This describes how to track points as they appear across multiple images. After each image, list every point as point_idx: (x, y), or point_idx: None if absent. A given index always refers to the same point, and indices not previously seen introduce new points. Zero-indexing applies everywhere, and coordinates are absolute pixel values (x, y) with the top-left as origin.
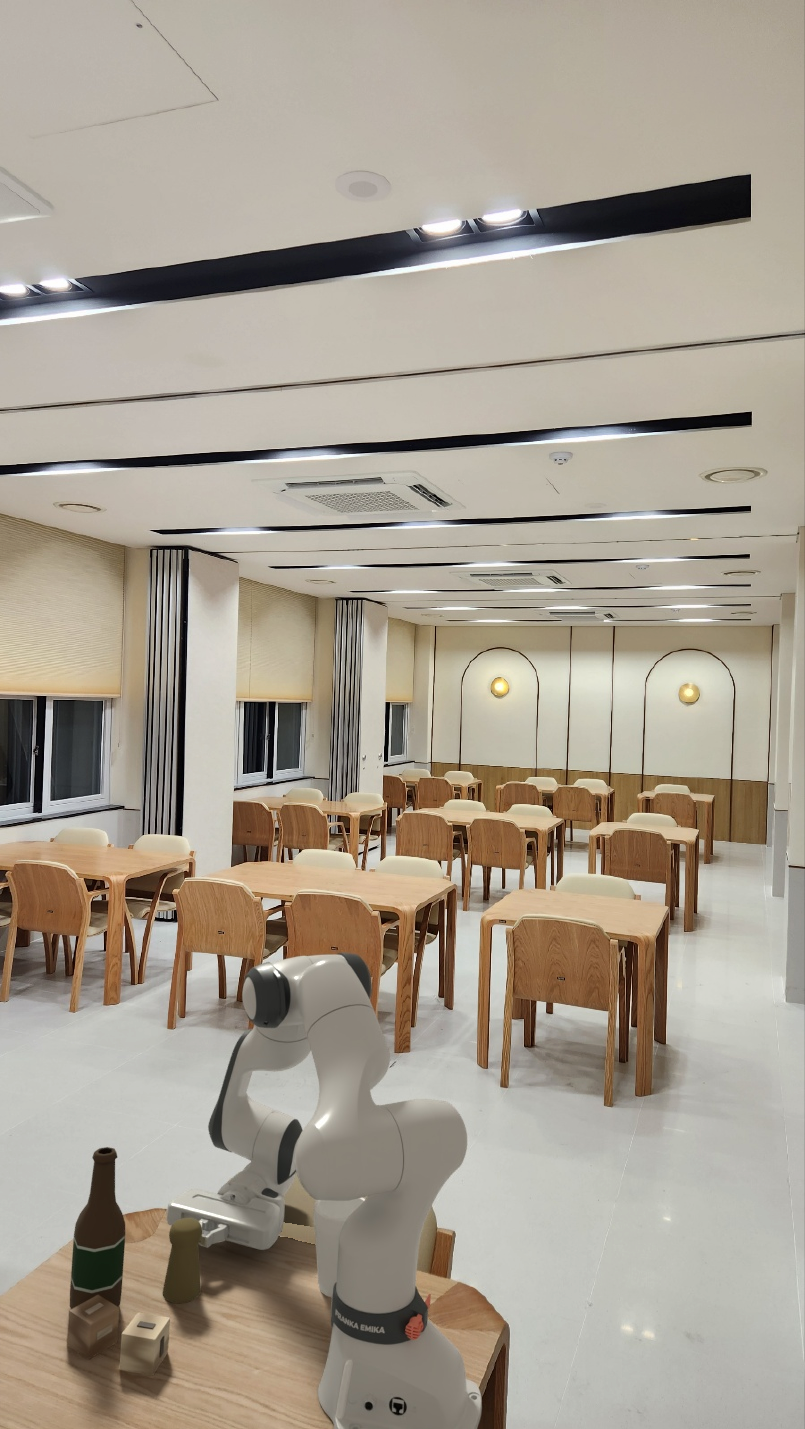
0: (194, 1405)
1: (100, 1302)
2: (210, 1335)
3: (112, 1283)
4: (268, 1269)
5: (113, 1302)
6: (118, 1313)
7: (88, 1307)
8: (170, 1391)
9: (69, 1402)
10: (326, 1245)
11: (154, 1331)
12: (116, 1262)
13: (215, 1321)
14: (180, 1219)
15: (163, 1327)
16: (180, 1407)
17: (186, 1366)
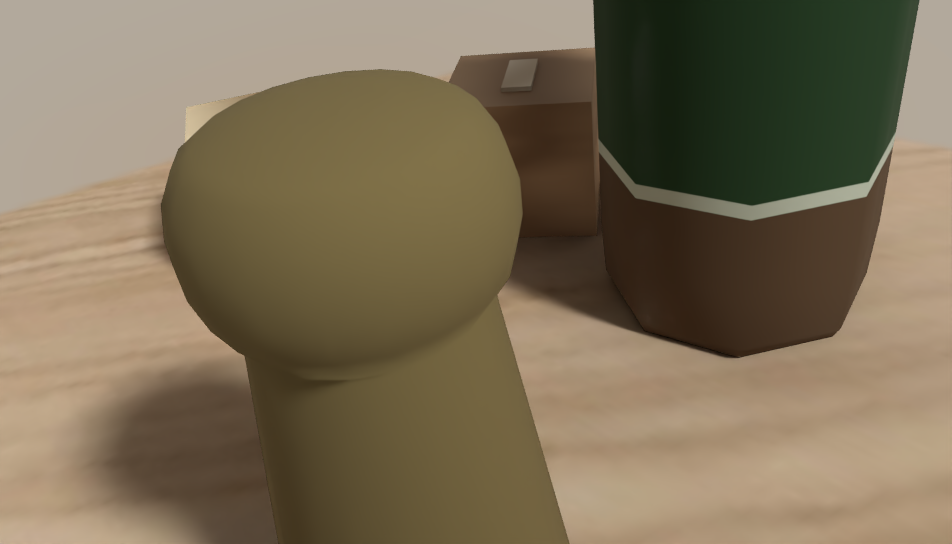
0: (32, 226)
1: (534, 92)
2: (74, 425)
3: (598, 132)
4: None
5: (611, 243)
6: None
7: (549, 72)
8: (132, 220)
9: None
10: None
11: (209, 118)
12: (606, 46)
13: (78, 505)
14: (438, 118)
15: (185, 136)
16: (76, 208)
17: (120, 286)
